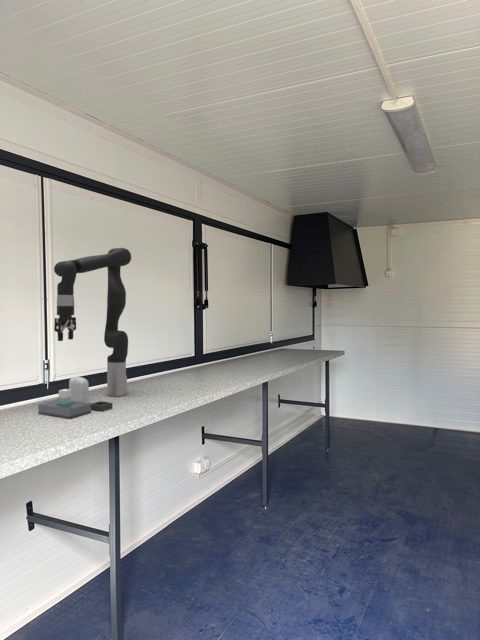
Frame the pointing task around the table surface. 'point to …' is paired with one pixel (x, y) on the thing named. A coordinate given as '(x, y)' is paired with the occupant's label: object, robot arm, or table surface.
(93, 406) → the dark grey square frame
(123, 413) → the table surface
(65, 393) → the plug
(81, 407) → the block
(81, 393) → the photo printer
